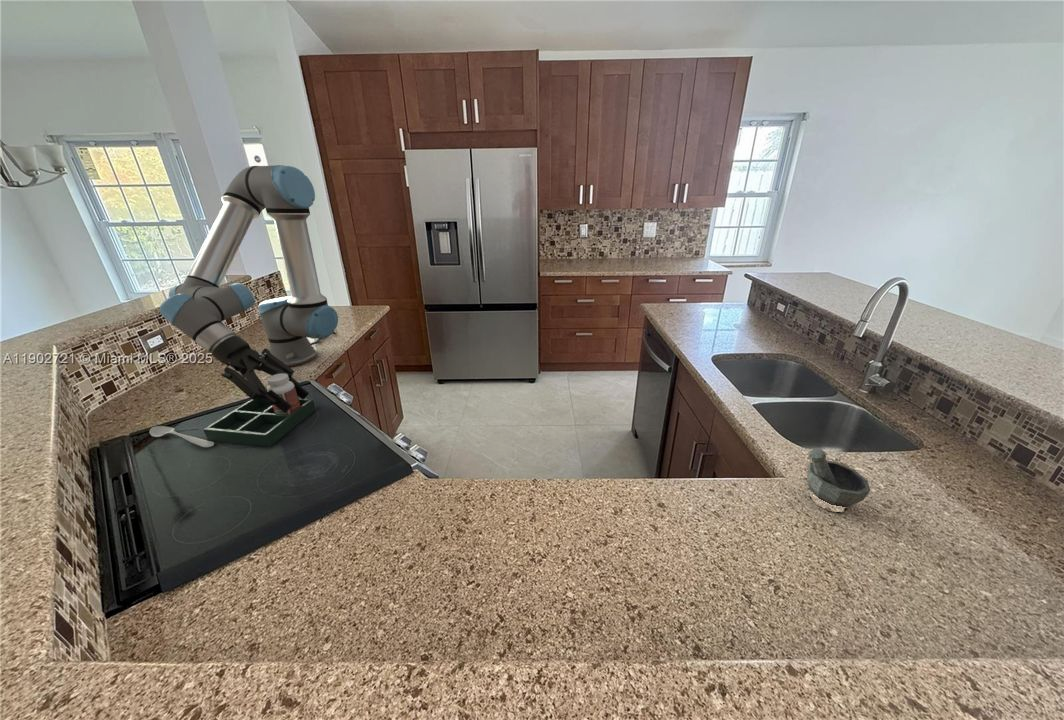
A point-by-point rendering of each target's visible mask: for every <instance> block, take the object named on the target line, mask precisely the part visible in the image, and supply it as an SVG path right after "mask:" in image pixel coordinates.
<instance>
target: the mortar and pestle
mask: <svg viewBox="0 0 1064 720" xmlns="http://www.w3.org/2000/svg"><path fill="white" fill-rule="evenodd" d="M807 454H808V459H810V460H811V462H810V463H809V464H808V467H807V472H806V479H807V480H806V482H807V486H808V489H809V491H812V492H813V493H814V494H815V495H816V496H817V497H818V498H819V499H821V500H823V501H825V502H827V503H829V504H831V505H836V506H842V507H847V508H849V507H851V506H854V505H856V504H858V503H860V502H862V501H864V500H865V499H866V497H867V496H868V495H869V493H870V491H871V488H870V484H869V480H868V479H867V478H865V476H863V475H861V474H860V472H858V471H857V470H856V469H854V468H851V467H849V466H847V465H844V464H842V463H840V462H838V461H833V460H827V459H826V458H827V455H826V452H825V451H823V450H822V449H817V448H815V449H811V450H810V451H809V452H808V453H807Z"/></svg>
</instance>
